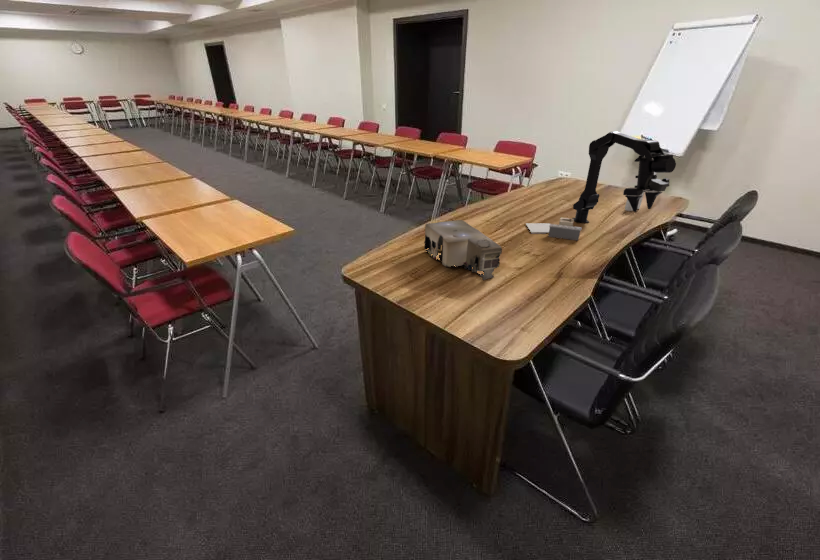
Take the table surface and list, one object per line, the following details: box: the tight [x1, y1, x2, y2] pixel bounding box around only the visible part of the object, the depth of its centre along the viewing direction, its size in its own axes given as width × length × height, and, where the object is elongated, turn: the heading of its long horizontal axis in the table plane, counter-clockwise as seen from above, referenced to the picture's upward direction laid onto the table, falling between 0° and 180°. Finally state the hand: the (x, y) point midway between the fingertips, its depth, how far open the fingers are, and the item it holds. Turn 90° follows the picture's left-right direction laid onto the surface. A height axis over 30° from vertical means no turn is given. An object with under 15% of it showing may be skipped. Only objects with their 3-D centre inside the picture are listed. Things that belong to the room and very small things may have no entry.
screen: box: [548, 223, 582, 241], centre depth 174 cm, size 3×14×6 cm, turn 67°
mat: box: [525, 222, 551, 234], centre depth 186 cm, size 12×12×1 cm
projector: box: [423, 219, 503, 281], centre depth 149 cm, size 18×33×13 cm, turn 19°
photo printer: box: [624, 192, 645, 212], centre depth 209 cm, size 10×4×12 cm, turn 123°
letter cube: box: [558, 217, 575, 226], centre depth 181 cm, size 6×6×6 cm
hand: (642, 210), depth 163 cm, fingers open, 9 cm apart
